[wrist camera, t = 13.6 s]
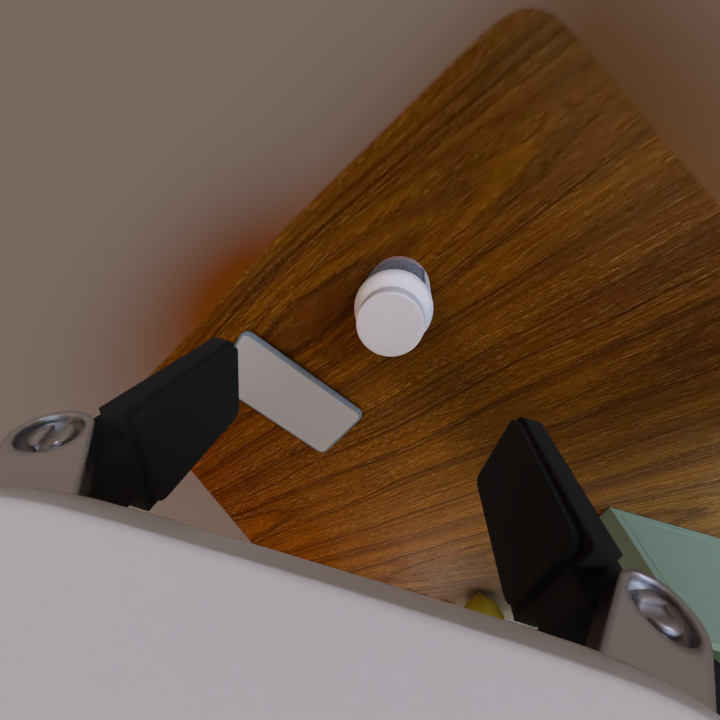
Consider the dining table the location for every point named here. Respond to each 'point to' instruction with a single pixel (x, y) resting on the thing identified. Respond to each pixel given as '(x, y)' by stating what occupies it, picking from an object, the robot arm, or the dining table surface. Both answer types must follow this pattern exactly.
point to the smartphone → (291, 395)
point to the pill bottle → (394, 307)
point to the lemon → (484, 606)
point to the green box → (673, 562)
